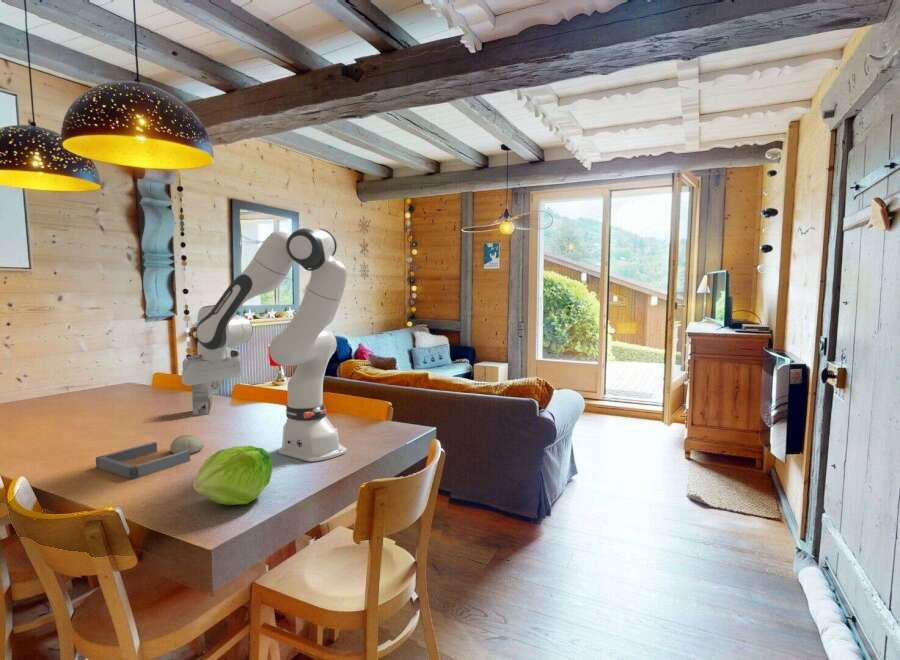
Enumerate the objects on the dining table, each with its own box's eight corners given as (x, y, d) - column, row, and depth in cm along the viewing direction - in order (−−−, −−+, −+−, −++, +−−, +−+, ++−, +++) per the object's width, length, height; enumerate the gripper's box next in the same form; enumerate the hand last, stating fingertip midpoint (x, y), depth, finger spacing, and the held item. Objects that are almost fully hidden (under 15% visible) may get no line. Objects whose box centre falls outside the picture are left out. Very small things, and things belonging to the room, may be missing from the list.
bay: (154, 450, 150) (153, 441, 150) (190, 460, 142) (189, 450, 142) (96, 467, 136) (95, 457, 136) (132, 479, 128) (132, 468, 127)
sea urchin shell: (194, 438, 158) (202, 424, 154) (202, 458, 155) (210, 445, 151) (163, 444, 151) (170, 430, 147) (171, 466, 148) (178, 452, 143)
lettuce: (175, 516, 108) (173, 455, 110) (249, 497, 125) (246, 444, 128) (217, 514, 101) (214, 449, 103) (289, 494, 119) (285, 439, 121)
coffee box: (196, 410, 203) (195, 372, 201) (213, 409, 205) (212, 372, 203) (192, 415, 194) (190, 376, 193) (209, 414, 196) (208, 376, 195)
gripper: (189, 357, 147) (190, 401, 148) (244, 351, 165) (245, 390, 166) (176, 356, 150) (177, 399, 151) (232, 349, 168) (232, 388, 169)
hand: (213, 394), depth 158 cm, fingers closed
